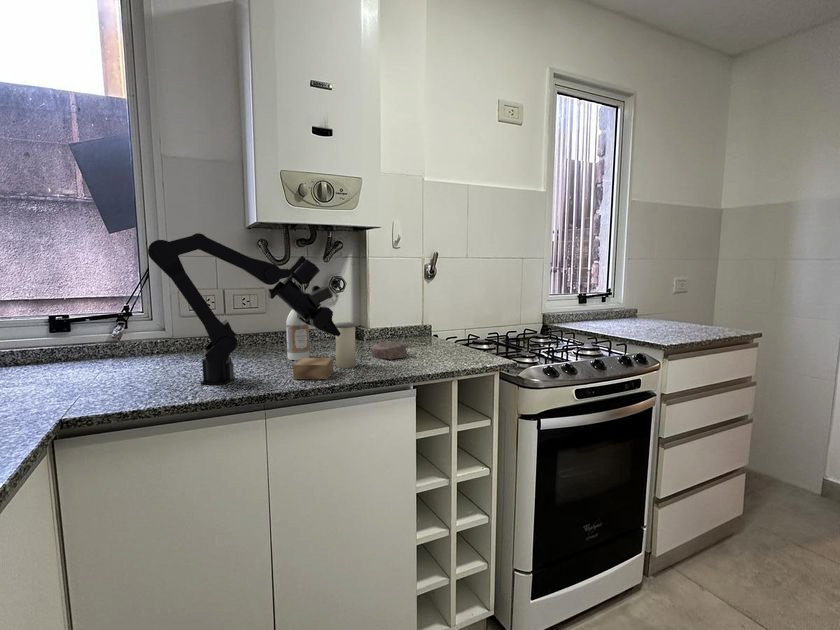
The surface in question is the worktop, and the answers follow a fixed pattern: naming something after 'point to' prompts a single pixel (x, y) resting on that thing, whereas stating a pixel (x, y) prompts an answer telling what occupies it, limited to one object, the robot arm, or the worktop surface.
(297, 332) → the bath foam
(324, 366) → the walnut box
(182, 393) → the worktop surface
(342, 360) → the tea tin
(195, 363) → the worktop surface
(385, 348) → the stone
